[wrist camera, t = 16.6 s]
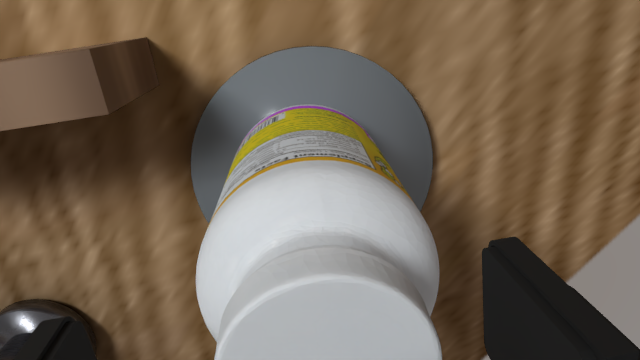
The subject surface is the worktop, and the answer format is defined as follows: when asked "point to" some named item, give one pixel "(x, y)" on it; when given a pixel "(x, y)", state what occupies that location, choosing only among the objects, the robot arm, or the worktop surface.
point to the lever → (31, 323)
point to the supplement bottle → (317, 249)
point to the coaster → (318, 89)
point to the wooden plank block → (74, 83)
